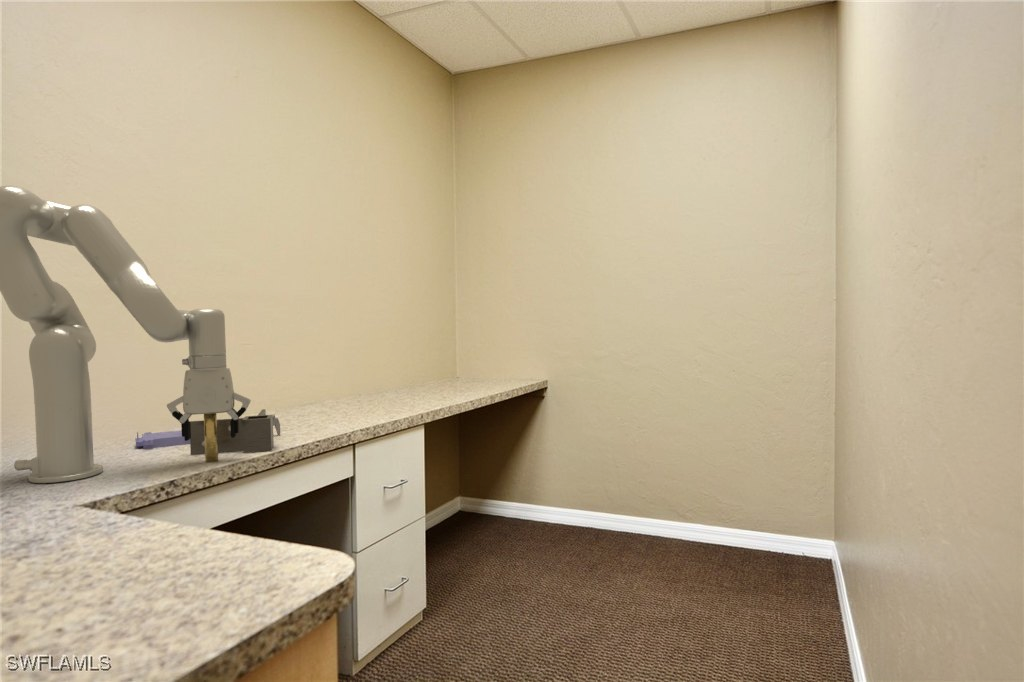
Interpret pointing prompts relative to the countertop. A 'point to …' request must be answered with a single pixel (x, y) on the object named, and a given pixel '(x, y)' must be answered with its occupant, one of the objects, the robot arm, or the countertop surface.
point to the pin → (210, 437)
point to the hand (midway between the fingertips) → (210, 438)
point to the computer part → (161, 439)
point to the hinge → (249, 439)
